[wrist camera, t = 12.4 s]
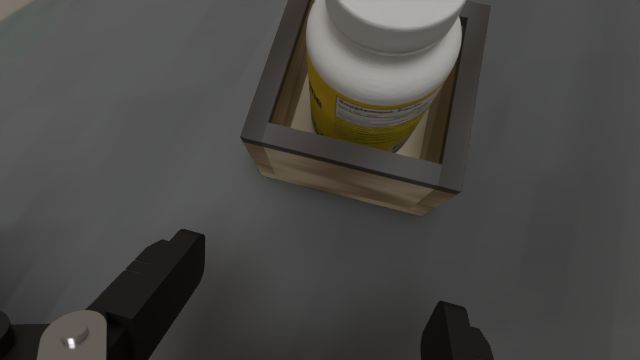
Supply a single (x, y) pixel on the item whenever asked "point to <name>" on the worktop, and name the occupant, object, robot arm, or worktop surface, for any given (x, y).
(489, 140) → the worktop surface
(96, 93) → the worktop surface
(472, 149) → the worktop surface
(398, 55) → the pill bottle
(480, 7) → the wooden box
